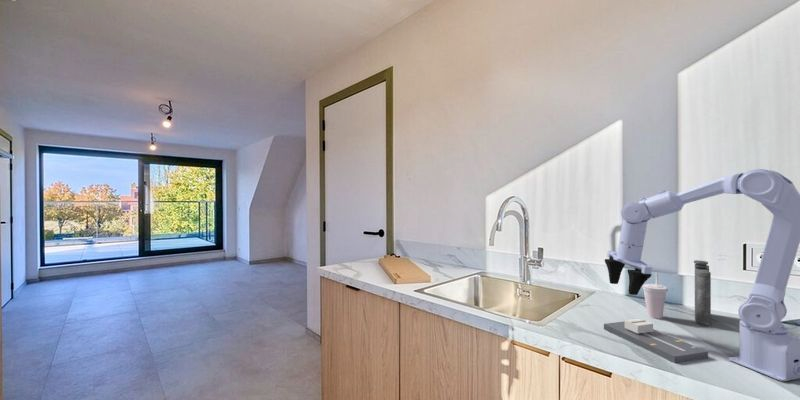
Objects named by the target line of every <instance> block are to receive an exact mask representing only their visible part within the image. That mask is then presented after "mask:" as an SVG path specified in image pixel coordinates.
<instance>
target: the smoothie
mask: <svg viewBox="0 0 800 400" xmlns="http://www.w3.org/2000/svg"><path fill="white" fill-rule="evenodd" d="M658 275H659V273H658V272H655V283H644V284H643V285H642V287H641V288H642V289H643V293H644V302H645V308H646V313H647V317H648V318H651V317H652V319H656V320H661V319H663V316H664V315H663V314H664V311H665V310H664V308H665V302H666V297H667V295H666V294H667V292H668V287H667V286H665V285H662V284H659V282H658V281H659V276H658Z"/></svg>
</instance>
